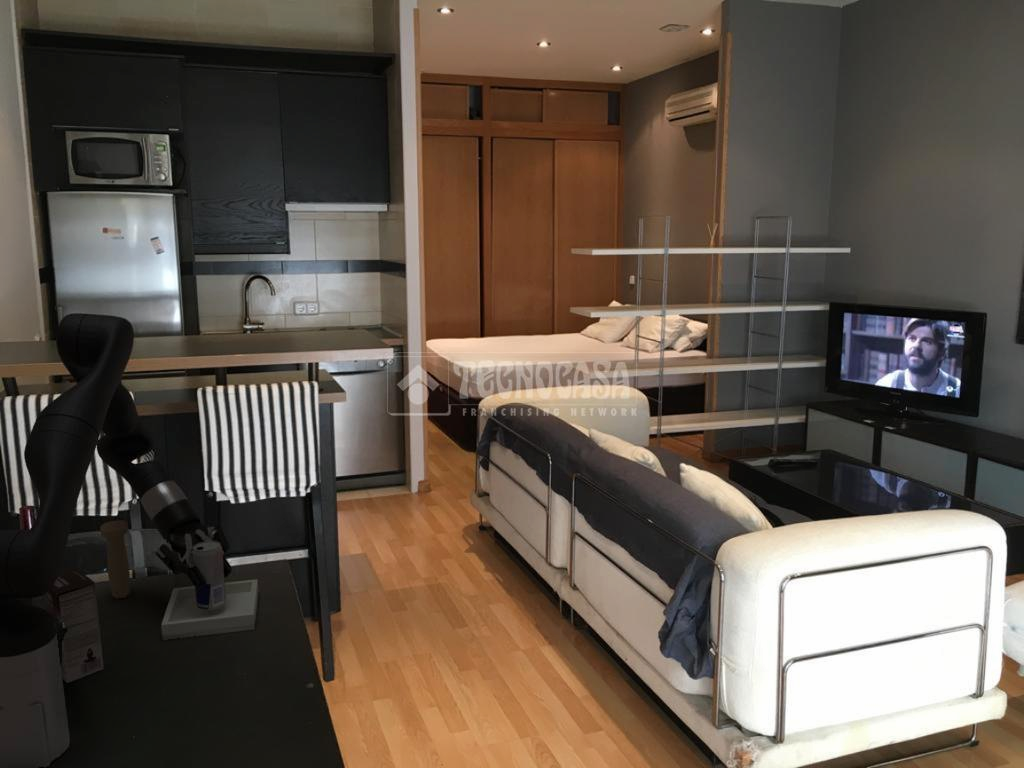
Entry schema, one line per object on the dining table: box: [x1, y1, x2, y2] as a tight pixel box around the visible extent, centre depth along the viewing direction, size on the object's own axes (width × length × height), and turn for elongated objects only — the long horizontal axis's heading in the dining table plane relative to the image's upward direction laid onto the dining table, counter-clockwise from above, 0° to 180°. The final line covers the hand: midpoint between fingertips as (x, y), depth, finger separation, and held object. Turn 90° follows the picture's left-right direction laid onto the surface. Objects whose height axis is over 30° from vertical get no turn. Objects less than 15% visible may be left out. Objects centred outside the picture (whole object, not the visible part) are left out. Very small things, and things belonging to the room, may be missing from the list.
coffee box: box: [47, 566, 105, 684], centre depth 142 cm, size 9×6×16 cm
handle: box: [99, 519, 131, 600], centre depth 169 cm, size 5×6×15 cm
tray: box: [160, 578, 259, 641], centre depth 161 cm, size 16×16×3 cm
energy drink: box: [192, 541, 226, 610], centre depth 160 cm, size 5×5×12 cm
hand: (215, 580), depth 159 cm, fingers closed on energy drink, 5 cm apart
